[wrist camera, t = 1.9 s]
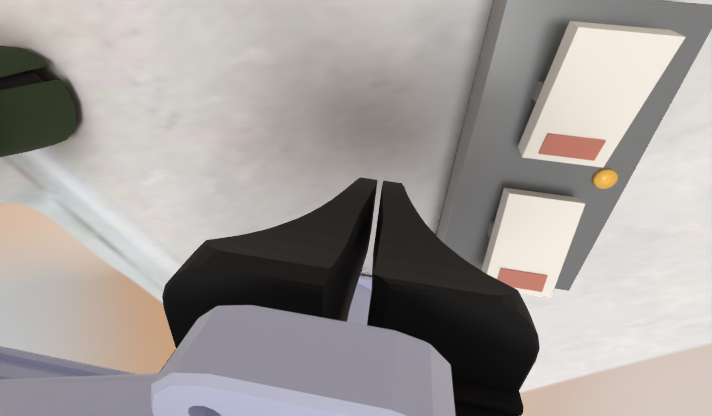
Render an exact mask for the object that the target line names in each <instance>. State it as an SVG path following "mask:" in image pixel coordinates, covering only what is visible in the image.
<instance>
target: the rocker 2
mask: <svg viewBox="0 0 712 416" xmlns="http://www.w3.org/2000/svg"><path fill="white" fill-rule="evenodd" d="M684 39H685V36H683V35H681V34H678V33H676V32H674V31H672V30H666V29H654V28H643V27H632V26H621V25H610V24H598V23H587V22H576V21H570V22H569V24H568V27H567V29H566V31H565V34H564V36H563V39H562V41H561V43H560V46H559V48H558V51H557V53H556V56H555V58H554V60H553V63H552V65H551V68H550V70H549V72H548V75H547V77H546V80H545V82H544V85H543V87H542V89H541V92H540V94H539V97H538V99H537V101H536V104H535V106H534V109H533V111H532V114H531V116H530V118H529V121H528V123H527V126H526V128H525V131H524V133H523V135H522V138H521V140H520V143H519V145H518V148H519V151H520V153H521V156H522V157H523V158H531V159H538V160H546V161H554V162H562V163H570V164H578V165H586V166H594V167H602V168H603V167H604V166H605V164H606V163H607V161H608V159H609V158H610V156H611V155H612V153H613V151H614V150H615V148H616V147H617V145H618V144H619V142H620V140H621V139H622V137H623V136H624V134H625V132H626V131H627V129H628V128H629V126H630V125H631V123H632V121H633V120H634V118H635V117H636V115H637V113H638V112H639V110H640V109H641V107H642V106H643V104H644V102H645V101H646V99H647V98H648V96H649V94H650V93H651V91H652V90H653V88H654V87H655V85H656V83H657V82H658V80H659V79H660V77H661V75H662V74H663V72H664V71H665V69H666V68H667V66H668V64H669V63H670V61H671V60H672V58H673V56H674V55H675V53H676V52H677V50H678V48H679V47H680V45H681V44H682V42H683V41H684Z"/></svg>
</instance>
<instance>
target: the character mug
mask: <svg viewBox="0 0 712 416" xmlns="http://www.w3.org/2000/svg"><path fill="white" fill-rule="evenodd" d="M46 66H47V65H46V64H45V62H44V61H43V60H41V59H39V58H37V57H36V56H34V55H32V54H30V53H29V52H27V51H25V50H23V49H20V48H13V47H6V46H0V157H4V156H8V155H13V154H18V153H23V152H28V151H32V150H36V149H39V148H43V147H47V146H51V145H54V144H57V143H59V142H62V141H64V140H67V138H68V137H69V135H70V134H71V132H72V131H73V129H74V128H75V126H76V125H77V124H76V113H75V104H74V102H73V100H72V98H71V96H70V94H69V92H68V90H67V88H66V86H65V84H64V83H63V82H62V81H61V80H60V79H57V80H51V81H46V82H42V81H41V79H40V78H39V77H37V76H36V75H35V74H33V73H32V72H31V71H29V70H33V69H37V68H42V67H46Z"/></svg>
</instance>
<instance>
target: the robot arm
mask: <svg viewBox="0 0 712 416" xmlns="http://www.w3.org/2000/svg"><path fill="white" fill-rule="evenodd" d="M376 187H377V180H374V179H366V178H359V179H357V180H356V181H355V182H354V183H352V184H351V185H350V186H349V187H348V188H347V189H345V190H344V191H343V192H341V193H340V194H339V195H338V196H336V197H335V198H334V199H332V200H331V201H329V202H328V203H326V204H324V205H323V206H321V207H320V208H318V209H316V210H314V211H312V212H311V213H308V214H306V215H304V216H302V217H300V218H298V219H295V220H292V221H290V222H287V223H284V224H281V225H279V226H276V227H273V228H269V229H265V230H262V231H258V232H253V233H249V234H244V235H239V236H233V237H226V238H219V239H212V240H206V241H205V242H204V243H203V244H202V245H201V246H200V247H199V248H198V249H197V250H196V251H195V252H194V253H193V254H192V255H191V256H190V258H189V259H188V260H187V261H186V262H185V263H184V264H183V265H182V266H181V268H180V269H179V270H178V271H177V272H176V273H175V274H174V275H173V277H172V278H171V279H170V280H169V281H168V283H167V284H166V285H165V288H164V292H163V296H162V297H163V305H164V310H165V313H166V317H167V320H168V323H169V326H170V329H171V333H172V336H173V340H174V343H175V346H176V350H175V351H174V352H173V354H172V355H171V357H170V358H169V360H168V361H167V362H166V364H165V365H164V367H163V368H162V369H161V371H160V372H159V373H156V374H134V373H130V372H125V371H120V370H115V369H110V368H105V367H100V366H95V365H91V364H85V363H81V362H76V361H71V360H66V359H61V358H56V357H51V356H46V355H41V354H36V353H31V352H26V351H22V350H17V349H12V348H7V347H2V346H0V416H521V415H522V413H523V404H522V401H521V397H520V393H519V389H520V388H521V386H522V384H523V382H524V381H525V379H526V377H527V375H528V373H529V372H530V370H531V368H532V366H533V364H534V363H535V361H536V358H537V355H538V352H539V340H538V334H537V332H536V329H535V326H534V324H533V321H532V318H531V316H530V314H529V311H528V309H527V307H526V305H525V303H524V301H523V299H522V297H521V295H520V293H519V291H518V290H517V289H515V288H513V287H511V286H509V285H507V284H505V283H503V282H501V281H499V280H498V279H496V278H494V277H492V276H490V275H488V274H486V273H485V272H483V271H481V270H480V269H478V268H477V267H475V266H473V265H472V264H470V263H469V262H467V261H466V260H465V259H463V258H462V257H460V256H459V255H458V254H457V253H455V252H454V251H453V250H452V249H450V248H449V247H448V246H447V245H446V244H444V243H443V242H442V241H441V240H440V239H439V238H438V237H437V236H436V235H435V234H434V233H433V232H432V231H431V230H430V229H429V227H428V226H427V225H426V224H425V222H424V221H423V220H422V218H421V217H420V215H419V214H418V212H417V211H416V209H415V208H414V206H413V204H412V203H411V201H410V199H409V197H408V195H407V193H406V191H405V188H404V186H403V185H402V183H396V182H388V181H383V185H382V191H381V198H380V206H379V214H378V221H377V229H376V236H375V244H374V252H373V270H372V277H367V276H361V275H360V274H361V271H362V267H363V264H364V261H365V258H366V255H367V251H368V245H369V240H370V234H371V228H372V220H373V212H374V204H375V196H376Z"/></svg>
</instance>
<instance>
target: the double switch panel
mask: <svg viewBox="0 0 712 416" xmlns="http://www.w3.org/2000/svg"><path fill="white" fill-rule="evenodd" d="M570 21H576V22H587V23H598V24H610V25H621V26H632V27H643V28H654V29H666V30H672V31H674V32H676V33H678V34H681V35H683V36H685V39H684V41H683V42H682V44H681V45H680V47H679V48H678V50H677V52H676V53H675V55H674V56H673V58H672V60H671V61H670V63H669V64H668V66H667V68H666V69H665V71H664V72H663V74H662V75H661V77H660V79H659V80H658V82H657V83H656V85H655V87H654V88H653V90H652V91H651V93H650V94H649V96H648V98H647V99H646V101H645V102H644V104H643V106H642V107H641V109H640V110H639V112H638V113H637V115H636V117H635V118H634V120H633V121H632V123H631V125H630V126H629V128H628V129H627V131H626V132H625V134H624V136H623V137H622V139H621V140H620V142H619V144H618V145H617V147H616V148H615V150H614V151H613V153H612V155H611V156H610V158H609V159H608V161H607V163H606V164H605V166H604V167H603V168H602V167H594V166H586V165H578V164H570V163H562V162H554V161H546V160H538V159H531V158H523V157H522V156H521V153H520V151H519V148H518V145H519V143H520V140H521V138H522V135H523V133H524V131H525V128H526V126H527V123H528V121H529V118H530V116H531V114H532V111H533V109H534V106H535V104H536V101H537V99H538V97H539V94H540V92H541V89H542V87H543V85H544V82H545V80H546V77H547V75H548V72H549V70H550V68H551V65H552V63H553V60H554V58H555V56H556V53H557V51H558V48H559V46H560V43H561V41H562V39H563V36H564V34H565V31H566V29H567V27H568V24H569V22H570ZM711 29H712V5H708V4H696V3H684V2H672V1H659V0H494V1H493V5H492V9H491V13H490V17H489V21H488V25H487V29H486V34H485V38H484V42H483V46H482V50H481V54H480V58H479V62H478V66H477V70H476V75H475V79H474V83H473V87H472V91H471V95H470V99H469V103H468V107H467V111H466V116H465V120H464V124H463V128H462V132H461V136H460V140H459V144H458V148H457V153H456V157H455V161H454V165H453V169H452V173H451V177H450V181H449V185H448V189H447V194H446V198H445V202H444V206H443V210H442V214H441V218H440V222H439V226H438V230H437V235H436V236H437V237H438V238H439V239H440V240H441V241H442V242H443V243H444V244H446V245H447V246H448V247H449V248H450V249H452V250H453V251H454V252H455V253H457V254H458V255H459V256H460V257H462V258H463V259H465V260H466V261H467V262H469V263H470V264H472V265H473V266H475V267H477V268H478V269H480V270H482V267H483V263H484V259H485V256H486V252H487V248H488V245H489V241H490V237H491V233H492V230H493V226H494V222H495V219H496V215H497V211H498V208H499V204H500V200H501V197H502V193H503V189H504V188H511V189H518V190H526V191H533V192H541V193H548V194H555V195H563V196H570V197H576V198H578V199H579V200H581V201H582V202H584V203H585V207H584V209H583V212H582V215H581V217H580V220H579V223H578V226H577V228H576V231H575V234H574V236H573V239H572V242H571V245H570V247H569V250H568V253H567V255H566V258H565V261H564V264H563V266H562V269H561V272H560V274H559V277H558V280H557V283H556V285H555V288H556V289H562V290H569V289H570V287H571V285H572V283H573V282H574V280H575V278H576V276H577V274H578V272H579V271H580V269H581V267H582V265H583V263H584V261H585V260H586V258H587V256H588V254H589V252H590V250H591V249H592V247H593V245H594V243H595V241H596V240H597V238H598V236H599V234H600V232H601V230H602V229H603V227H604V225H605V223H606V221H607V219H608V218H609V216H610V214H611V212H612V210H613V208H614V207H615V205H616V203H617V201H618V199H619V197H620V196H621V194H622V192H623V190H624V188H625V186H626V185H627V183H628V181H629V179H630V177H631V175H632V174H633V172H634V170H635V168H636V166H637V164H638V163H639V161H640V159H641V157H642V155H643V153H644V152H645V150H646V148H647V146H648V144H649V142H650V141H651V139H652V137H653V135H654V133H655V131H656V130H657V128H658V126H659V124H660V122H661V120H662V119H663V117H664V115H665V113H666V111H667V109H668V108H669V106H670V104H671V102H672V100H673V98H674V97H675V95H676V93H677V91H678V89H679V87H680V86H681V84H682V82H683V80H684V78H685V76H686V75H687V73H688V71H689V69H690V67H691V65H692V64H693V62H694V60H695V58H696V56H697V54H698V53H699V51H700V49H701V47H702V45H703V44H704V42H705V40H706V38H707V36H708V34H709V33H710V31H711Z"/></svg>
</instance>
